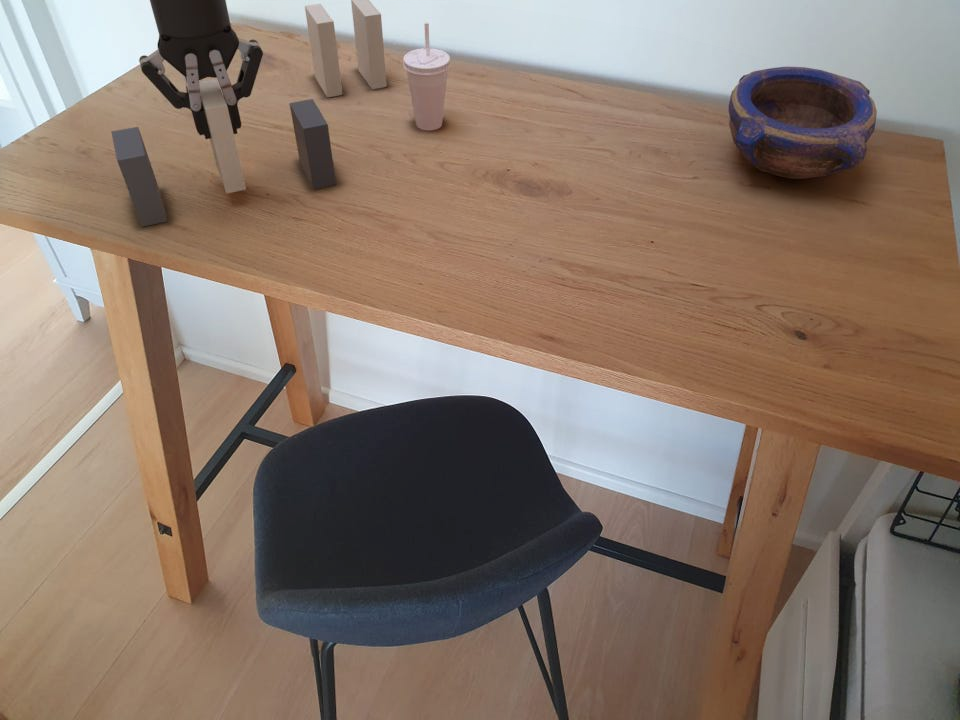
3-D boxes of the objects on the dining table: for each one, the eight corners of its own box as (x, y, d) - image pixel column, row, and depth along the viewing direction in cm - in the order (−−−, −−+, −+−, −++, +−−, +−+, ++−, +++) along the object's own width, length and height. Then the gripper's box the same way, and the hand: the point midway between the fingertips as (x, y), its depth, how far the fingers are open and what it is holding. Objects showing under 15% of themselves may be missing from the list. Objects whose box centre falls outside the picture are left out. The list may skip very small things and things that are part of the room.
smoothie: (456, 116, 111) (455, 18, 101) (444, 137, 107) (442, 37, 97) (414, 111, 112) (408, 13, 102) (401, 132, 108) (394, 32, 98)
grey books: (141, 227, 92) (117, 160, 85) (135, 196, 96) (111, 131, 90) (336, 184, 98) (327, 120, 92) (321, 158, 103) (312, 94, 96)
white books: (327, 97, 115) (317, 23, 107) (315, 78, 119) (304, 5, 112) (386, 86, 118) (381, 13, 110) (372, 68, 122) (366, -4, 114)
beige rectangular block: (226, 193, 93) (205, 109, 85) (216, 165, 97) (195, 82, 90) (246, 189, 94) (227, 105, 86) (235, 161, 98) (216, 78, 90)
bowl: (706, 184, 99) (724, 113, 92) (725, 121, 111) (742, 53, 104) (851, 213, 95) (882, 140, 88) (855, 144, 107) (882, 75, 100)
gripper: (244, -39, 84) (271, 109, 96) (109, -24, 79) (155, 129, 92) (258, -16, 79) (285, 137, 91) (115, 2, 75) (163, 160, 87)
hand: (220, 132), depth 91 cm, fingers closed on beige rectangular block, 2 cm apart
